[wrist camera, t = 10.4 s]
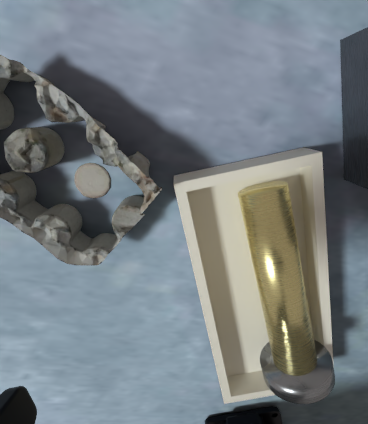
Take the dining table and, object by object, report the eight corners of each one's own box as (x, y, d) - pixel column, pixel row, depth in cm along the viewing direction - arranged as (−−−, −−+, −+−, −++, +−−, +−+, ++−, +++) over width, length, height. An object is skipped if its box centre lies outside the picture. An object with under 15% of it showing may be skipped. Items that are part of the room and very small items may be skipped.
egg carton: (173, 176, 18) (172, 193, 14) (102, 255, 20) (83, 289, 16) (28, 49, 16) (-20, 27, 12) (-39, 151, 17) (-101, 162, 13)
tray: (319, 358, 23) (334, 384, 21) (220, 376, 23) (224, 403, 21) (304, 147, 17) (322, 151, 15) (173, 175, 18) (173, 183, 16)
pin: (292, 338, 22) (350, 372, 18) (249, 372, 20) (304, 419, 16) (261, 177, 19) (324, 176, 15) (207, 198, 17) (262, 204, 13)
